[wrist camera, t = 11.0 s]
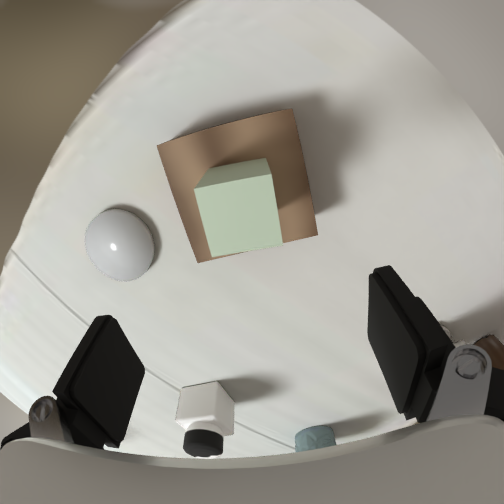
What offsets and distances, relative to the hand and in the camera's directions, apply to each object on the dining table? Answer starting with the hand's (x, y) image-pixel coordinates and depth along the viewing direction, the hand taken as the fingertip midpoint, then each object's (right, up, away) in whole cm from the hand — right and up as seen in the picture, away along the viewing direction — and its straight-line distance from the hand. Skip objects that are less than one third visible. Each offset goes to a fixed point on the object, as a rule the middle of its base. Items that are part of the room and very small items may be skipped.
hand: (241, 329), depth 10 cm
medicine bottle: (-7, -22, +36) cm, 43 cm away
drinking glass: (+14, -38, +44) cm, 60 cm away
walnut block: (-1, +10, +20) cm, 22 cm away
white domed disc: (-15, +4, +23) cm, 28 cm away
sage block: (0, +8, +15) cm, 17 cm away
